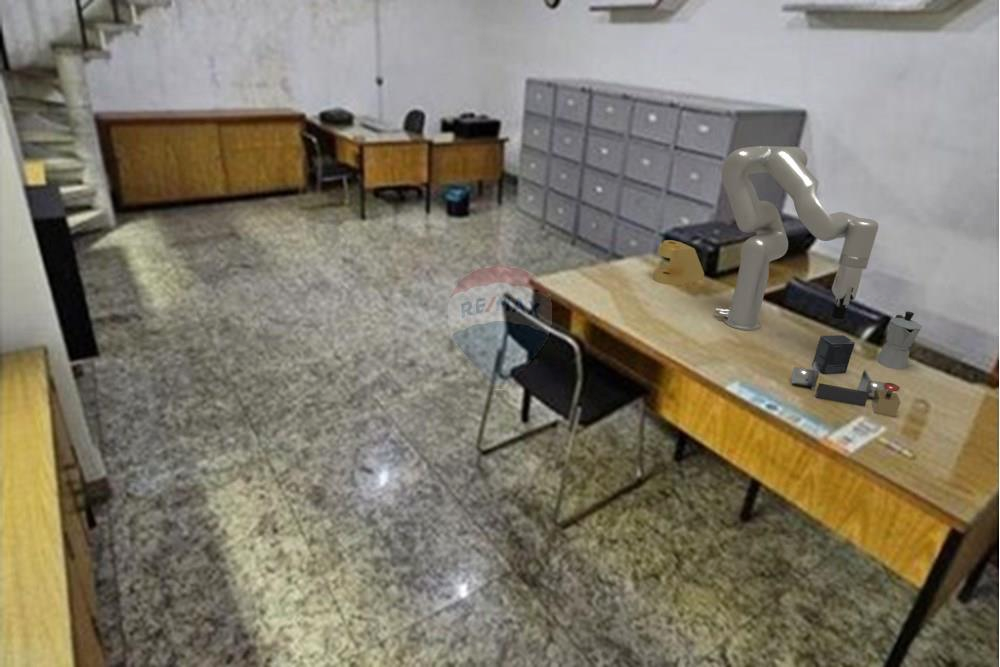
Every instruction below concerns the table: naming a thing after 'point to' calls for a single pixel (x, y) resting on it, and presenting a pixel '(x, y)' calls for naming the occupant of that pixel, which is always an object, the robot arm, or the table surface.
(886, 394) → the valve
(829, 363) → the box
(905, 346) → the coffee maker
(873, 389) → the dark grey bracket shape
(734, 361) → the table surface
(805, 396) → the table surface
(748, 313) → the robot arm
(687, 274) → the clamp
